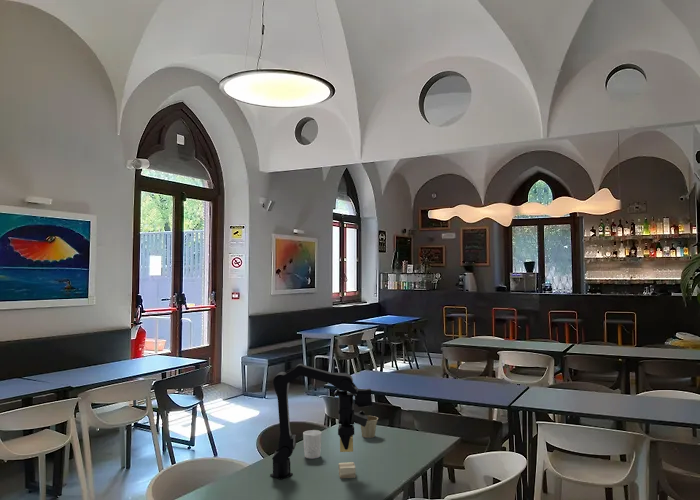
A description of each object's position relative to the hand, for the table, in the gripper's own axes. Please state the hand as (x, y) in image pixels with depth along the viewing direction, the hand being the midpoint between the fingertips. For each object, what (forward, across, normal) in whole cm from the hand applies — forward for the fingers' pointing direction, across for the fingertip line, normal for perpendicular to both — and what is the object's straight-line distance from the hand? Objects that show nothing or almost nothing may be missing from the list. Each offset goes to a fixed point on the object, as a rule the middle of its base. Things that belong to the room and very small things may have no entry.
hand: (346, 447), depth 216 cm
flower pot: (+11, +50, -11) cm, 52 cm away
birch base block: (+11, 0, 0) cm, 11 cm away
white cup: (+11, +23, +15) cm, 29 cm away
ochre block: (+1, 0, 0) cm, 1 cm away
